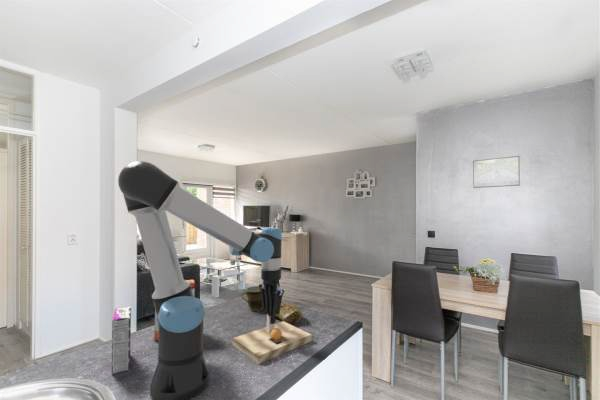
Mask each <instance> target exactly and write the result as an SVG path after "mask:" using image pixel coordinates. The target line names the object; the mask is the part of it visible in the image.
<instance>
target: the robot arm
mask: <svg viewBox="0 0 600 400" xmlns="http://www.w3.org/2000/svg"><path fill="white" fill-rule="evenodd" d="M117 180H118V182H117V183H118V188H119V190H120V192H121V193H122V195H123V198H124V202H125V206H126V208H127V212H128V213H129V215H130V214H131V215H132V216H134V217H135V219H136V223H137V228H138V232H139V234H140V238H141V242H142V245H143V249H144V253H145V256H146V260H147V263H148V264H147V265H148V267H149V271H150V275H151V278H152V282H153V286H154V291H153V293H152V294H151V299H152V303H153V306H154V310H156V314H157V318H158V328H159V340H158V353H157V354H158V357H157V358H158V359H157V360H158V361H157V365H156V368H155V370H154V374H153V376H152V379H151V383H150V388H149V390H150V392H149V393H150V398H151V399H153V400H191V399H194V398H196V397H197V396H199V395H201V393H203V392H204V391H205V390H206V388H207V387H208V386H209V383H210V382H209V381H210V380H209V379H210V374H209V369H208V366H207V363H206V360H205V357H204V352H203V351H204V318H205V309H204V304H203V302H202V300H201V299H200V298H197V297H195V296H194V297H193V293H192V289H191V286H190V283H189V282H188V281H185V280H186V279H184V275H183V272H182V268H181V265H180V261H179V257H178V253H177V248H176V245H175V242H174V237H173V234H172V230H171V228H170V227H171V226H170V223H169V220H168V216H167V213H170V214H171V215H174V216H175V217H177V218H179V219H180V220H182V221H184V222H186V223H187V224H189V225H191V226H193V227H195V228H196V229H198V230H200V231H201V232H204V233H205V234H207V235H209V236H210V237H212V238H214V239H216V240H218V241H220V242H221V243H223V244H225V245H227V246H228V249H229V253H230V254H231V255H232V256H238V257H239V256H244V257H247V258H249V259H251V260H253V261H255V262H257V263H261V266H260V267H261V268H262V269H261V271H260V272H261V273H260V274H261V275H260V276H261V277H260V278H261V279H262V283H260V284H259V283H258V286H259V288H260V293H261V301H262V311H264V313H265V314H266V316H265V317H266V318H265V320H266V327H267V332H268V333H271V332H272V330H273V329H275V324H276V316H275V315H276V314H279V313H280V307H281V301H283V300H282V299H283V295H284V293H285V290H284V289H281V286H280V280H281V279H282V269H281V268H282V241H283V238H282V237H283V236H282V230H281V228H280V227H262V229H261V232H260V233H256V232H254V231H252V230H251V229H249V228H248V227H246V226H245V225H242V224H241V223H239V222H238V221H236V220H234V219H232V218H231V217H229V216H228V215H226V214H225V213H223V212H221V211H220V210H218V209H217V208H215V207H213V206H211V205H210V204H208V203H207V202H205V201H203V200H202V199H200V198H198V197H197V196H195V195H194V194H193V193H191V192H189V191H187V190H185V189H184V188H182V187H181V185H180V182H179V181H178V180H176V179H174V178H173V177H171V176H170V175H168V174H167V173H166V172H164V171H163V170H162V169H161V168H160V167H158V166H157V165H155V164H153V163H151V162H148V161H142V160H141V161H140V160H139V161H134V162H131V163H129V164H127V165H125V166H124V167H123V168H122V170H121V171H120V173H119V175H118V179H117Z"/></svg>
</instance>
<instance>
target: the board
mask: <svg viewBox="0 0 600 400" xmlns="http://www.w3.org/2000/svg"><path fill="white" fill-rule="evenodd" d="M275 328H279V329H280V330H281V332H282V336H281V338H280V339H279V340H274V339H273V338H272V337H271V333H268V332H267V326H265V327H262V328H259V329H256V330H252V331H250V332H248V333H243V334H240V335H239V336H236V337H232V343H231V345H232V346H233V347H235V348H236V349H237V350H238V351H240V352H241V353H243V354H244V355H245V356H247V357H248V358H249V359H251V360H252V361H254V362H255V363H256V364H258V365H260V364H262V363H264V362H266V361H269V360H271V359H273V358H276V357H279V356H281V355H283V354H285V353H288V352H289V351H292V350H295V349H297V348H298V347H301V346H304V345H306V344H308V343H310V342H312V339H313V338H312V336H313V335H312V334H311V333H309V332H307V331H305V330H304V329H300V328H298V327H296V326H294V325H292V324H291V323H286V322H284V321H282V320H281V321H279V322H277V323H276V322H275Z"/></svg>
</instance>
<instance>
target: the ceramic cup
mask: <svg viewBox="0 0 600 400" xmlns="http://www.w3.org/2000/svg"><path fill="white" fill-rule="evenodd" d="M244 294H245V295H246V298H244V297H243V295H244ZM240 296H241V298H242V299H243V300H244V301H245V302H246V303H247V305H248V310H249V311H251V312H259V311H263V309H262V301H261V293H260V288H259V285H258V286H256V285H255V286H249V287H246V288H245V291H244V292H242V293H241V295H240Z"/></svg>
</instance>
